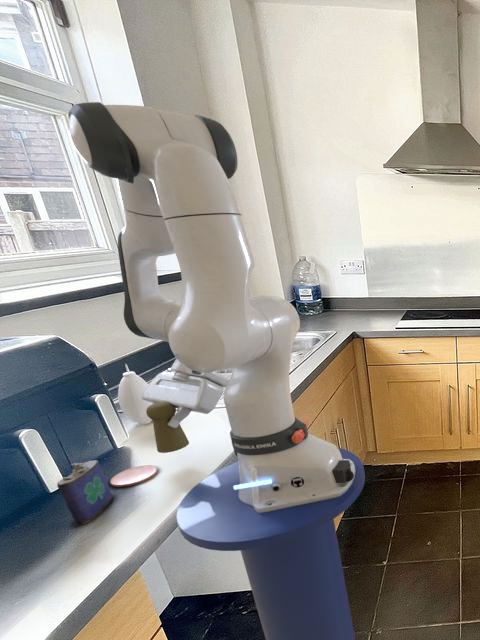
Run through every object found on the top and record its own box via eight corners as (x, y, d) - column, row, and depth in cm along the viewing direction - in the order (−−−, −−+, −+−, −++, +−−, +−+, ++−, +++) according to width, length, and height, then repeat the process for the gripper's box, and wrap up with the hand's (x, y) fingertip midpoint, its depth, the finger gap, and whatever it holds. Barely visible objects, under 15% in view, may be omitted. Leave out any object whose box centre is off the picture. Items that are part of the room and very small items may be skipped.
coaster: (165, 465, 98) (164, 463, 98) (143, 485, 90) (143, 482, 90) (126, 469, 96) (125, 467, 96) (101, 489, 89) (100, 486, 89)
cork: (181, 450, 95) (167, 407, 92) (151, 454, 94) (135, 410, 90) (194, 439, 101) (180, 397, 97) (165, 442, 100) (150, 400, 96)
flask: (101, 497, 86) (83, 452, 82) (118, 495, 87) (101, 450, 83) (70, 526, 78) (48, 477, 74) (89, 523, 79) (68, 475, 75)
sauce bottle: (142, 430, 115) (121, 368, 109) (120, 427, 116) (98, 366, 110) (169, 418, 122) (151, 360, 116) (148, 416, 124) (129, 358, 117)
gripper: (153, 361, 101) (119, 413, 96) (212, 369, 94) (179, 426, 89) (178, 373, 106) (147, 423, 101) (235, 381, 99) (205, 436, 94)
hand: (162, 425), depth 95 cm, fingers closed on cork, 4 cm apart
